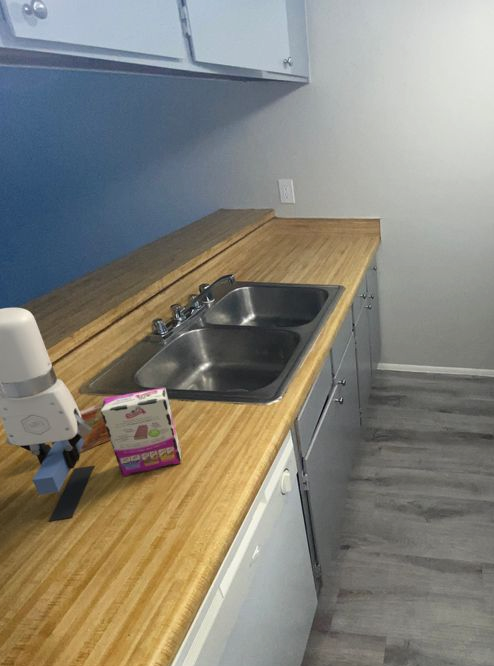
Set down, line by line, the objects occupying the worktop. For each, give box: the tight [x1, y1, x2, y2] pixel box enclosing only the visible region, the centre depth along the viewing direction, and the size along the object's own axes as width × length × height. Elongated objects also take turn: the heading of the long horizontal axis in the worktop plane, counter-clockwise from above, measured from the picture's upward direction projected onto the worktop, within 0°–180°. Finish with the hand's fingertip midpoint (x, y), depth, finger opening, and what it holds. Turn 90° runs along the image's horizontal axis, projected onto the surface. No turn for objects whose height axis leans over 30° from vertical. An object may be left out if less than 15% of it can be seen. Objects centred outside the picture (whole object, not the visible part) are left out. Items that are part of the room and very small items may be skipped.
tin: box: [50, 402, 111, 454], centre depth 102 cm, size 15×3×8 cm, turn 137°
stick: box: [32, 430, 84, 496], centre depth 87 cm, size 3×14×4 cm, turn 15°
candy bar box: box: [101, 386, 182, 477], centre depth 95 cm, size 11×5×16 cm, turn 114°
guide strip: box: [48, 465, 95, 522], centre depth 91 cm, size 4×14×1 cm, turn 15°
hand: (62, 464), depth 87 cm, fingers closed on stick, 3 cm apart
